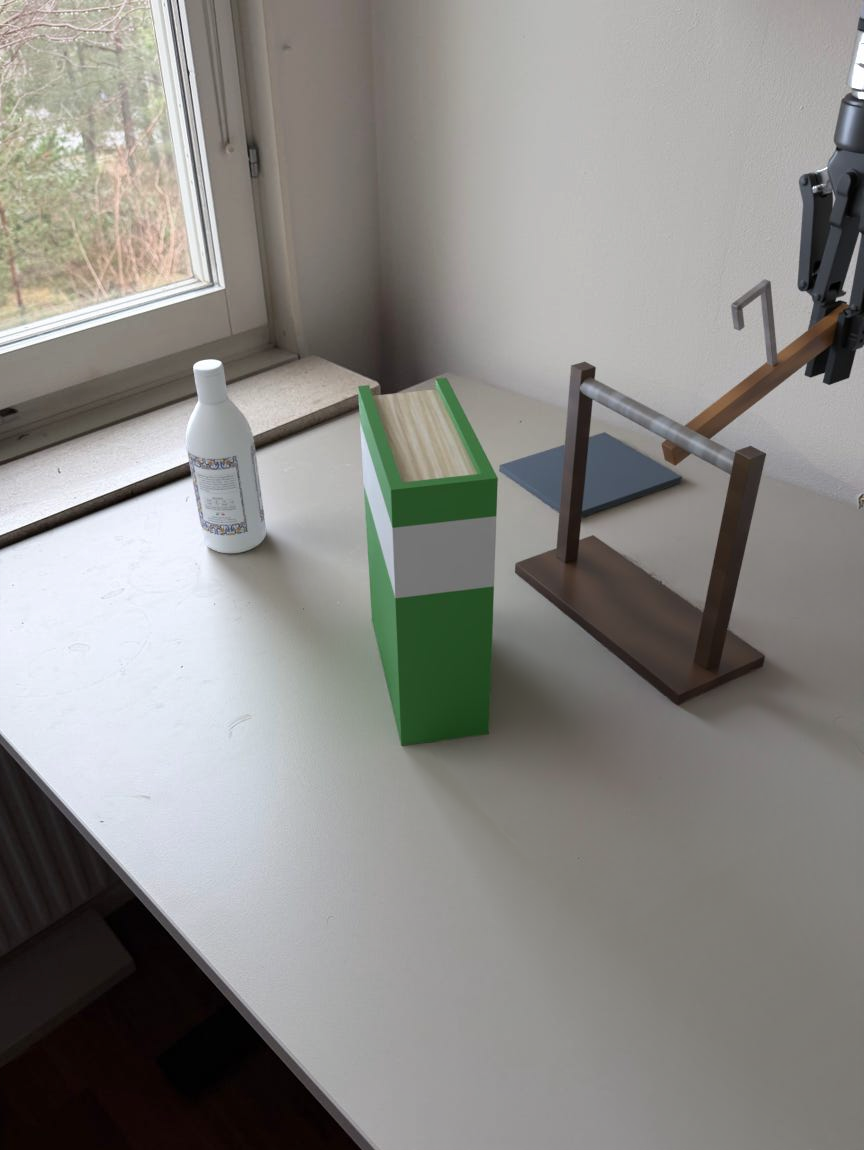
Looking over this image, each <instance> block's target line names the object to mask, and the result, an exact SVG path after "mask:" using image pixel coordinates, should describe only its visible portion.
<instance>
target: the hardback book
mask: <svg viewBox="0 0 864 1150" xmlns="http://www.w3.org/2000/svg"><path fill="white" fill-rule="evenodd" d="M357 395H358V396H357V397H358V398H357V399H358V412H359V413H358V414H359V429H360V430H359V431H360V447H361V463H362V478H363V479H362V481H363V494H364V495H363V496H364V509H365V511H364V512H365V527H366V528H365V530H366V543H367V544H366V545H367V559H368V560H367V561H368V579H369V593H370V594H369V596H370V611H371V612H370V613H371V623H372V628H373V629H374V630H373V631H374V635H375V636H374V637H375V640H376V644H377V648H378V652H379V657H380V660H381V665H382V670H383V673H384V678H385V682H386V686H387V691H388V695H389V699H390V703H391V708H392V713H393V716H394V721H395V724H396V729H397V733H398V737H399V738H398V739H399V741H400V745H401V746H410V745H417V744H424V743H431V742H439V741H446V740H447V741H448V740H454V739H463V738H468V737H476V736H482V735H489V734H490V711H491V683H492V658H493V657H492V654H493V653H492V652H493V626H494V625H493V624H494V602H495V601H494V600H495V599H494V597H495V596H494V595H495V573H496V572H495V571H496V568H495V567H496V544H497V543H496V542H497V541H496V540H497V514H498V511H497V510H498V484H499V482H498V481H499V478H498V476H497V473H496V471H495V469H494V468H493V466H492V464H491V462H490V459H489V458H488V456H487V454H486V452H485V449H484V448H483V446H482V444H481V442H480V440H479V439H478V437H477V435H476V432H475V430H474V428H473V427H472V424H471V422H470V420H469V419H468V417H467V414H466V412H465V411H464V408H463V407H462V405H461V403H460V400H459V399H458V397H457V394H456V393H455V391H454V389H453V387H452V385H451V383H450V382H449V379H448V378H447V377H438V378H435V388H434V389H425V390H415V391H406V392H396V393H395V392H394V393H387V394H386V393H385V394H376V395H373V392H372V390H371V388H370V384H366V385H358V386H357Z"/></svg>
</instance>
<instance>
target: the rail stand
mask: <svg viewBox="0 0 864 1150" xmlns="http://www.w3.org/2000/svg"><path fill="white" fill-rule="evenodd" d="M596 370H597V367H596V366H595V365H592V364H590V363H588V362H587V361H581V362H578V363H575V364H571V365H570V374H569V386H568V399H567V413H566V422H565V423H566V424H565V436H564V445H565V448H564V461H563V473H562V486H561V498H560V511H559V512H558V524H557V537H556V548H553V549H550V550H548V551H547V550H546V551H544V552H542V553H540V554H537V555H533V556H531V557H528V558H526V559H522V560H520V561H517V562H515V564H514V573H515V574H516V575H517V576H518V577H519V578H521V579H522V580H523V581H524V582H525V583H527V584H528V585H529V586H530V587H532V588H533V589H534V590H536V592H537V593H539V594H540V595H542V596H543V597H544V598H545V599H546V600H547V601H549V602H550V603H551V604H552V605H553V606H555V607H556V608H557V609H559V610H560V611H561V612H562V613H564V614H565V615H566V616H567V617H568V618H570V619H571V620H572V621H573V622H574V623H576V624H577V625H578V626H579V627H580V628H582V629H583V630H584V631H586V632H587V633H588V634H589V635H590V636H592V637H593V638H594V639H595V640H597V642H599V643H600V644H601V645H602V646H604V647H605V648H607V649H608V650H609V651H610V652H611V653H612V654H614V655H615V656H616V657H618V658H619V659H620V660H621V661H622V662H624V664H626V665H627V666H628V667H630V668H631V669H632V670H633V671H635V672H636V673H637V674H638V675H640V677H642V678H643V680H645V681H646V682H648V683H649V684H650V685H652V686H653V687H654V688H655V689H656V690H658V691H659V692H660V693H661V694H663V695H664V696H665V697H666V698H667V699H668V700H670V702H672V703H674V704H675V705H676V706H679V705H681V704H683V703H685V702H687V701H689V700H691V699H694V698H696V697H698V696H700V695H703V694H705V693H707V692H710V691H712V690H714V689H716V688H719V687H720V686H722V685H724V684H726V683H729V682H732V681H733V680H735V679H738V678H740V677H742V676H744V675H746V674H749V673H751V672H753V671H755V670H757V669H760V668H761V667H763V666H764V662H765V658H766V655H765V654H763V652H760V651H759V650H757V648H755V647H753V646H752V645H751V644H749V642H746V641H745V640H744V639H742V638H741V637H739V636H738V635H737V634H735V633H734V632H732V631H731V630H729V625H730V620H731V615H732V611H733V607H734V602H735V598H736V592H737V589H738V583H739V579H740V575H741V570H742V565H743V562H744V556H745V553H746V547H747V543H748V538H749V533H750V529H751V525H752V521H753V516H754V512H755V506H756V503H757V497H758V493H759V489H760V484H761V480H762V475H763V471H764V466H765V461H766V457H767V453H766V452H765V451H762V450H760V449H758V448H756V447H754V446H753V445H749V446H745V447H742V448H740V449H737V450H735V451H733V450H732V449H729V448H727V447H726V446H725V445H722V444H720V443H718V442H716V441H714V440H712V439H708V438H706V437H704V436H703V435H701V434H699V433H697V432H695V431H693V430H691V429H689V428H687V427H685V425H683V424H681V423H680V422H677V421H676V420H673V419H672V418H670V417H668V416H666V415H664V414H662V413H660V412H659V411H657V410H655V409H653V408H651V407H649V406H647V405H645V404H644V403H642V402H640V401H637V400H636V399H634V398H631V397H630V396H628V395H626V394H625V393H622V392H620V391H619V390H616V389H615V388H612V387H611V386H608V385H606V384H605V383H603V382H601V381H599V380H597V379H595V378H596V372H597V371H596ZM593 401H594V402H596V403H598V404H600V405H602V406H604V407H606V408H607V409H609V410H611V411H612V412H615V413H617V414H618V415H620V416H621V417H624V418H626V419H627V420H629V421H631V422H633V423H635V424H637V425H639V426H640V427H642V428H644V429H646V430H648V431H649V432H651V433H653V434H655V435H657V436H658V437H660V438H662V439H664V440H668V441H670V442H671V443H673V444H675V445H677V446H679V447H681V448H682V449H684V450H686V451H688V452H690V453H691V455H694V456H695V457H697V458H699V459H701V460H703V461H705V462H706V463H708V464H710V465H712V466H713V467H715V468H718V469H719V470H721V471H723V472H725V473H726V474H728V475H729V481H728V486H727V489H726V490H727V491H726V496H725V500H724V506H723V512H722V516H721V520H720V527H719V531H718V532H719V533H718V536H717V541H716V546H715V551H714V556H713V560H712V561H713V562H712V567H711V572H710V576H709V581H708V587H707V592H706V597H705V601H704V606H703V610H701V609H699V608H698V607H696V606H695V605H694V604H693V603H691V602H689V601H688V600H687V599H685V598H684V597H683V596H681V595H680V594H678V593H676V591H674V590H672V589H671V588H669V586H667V585H666V584H663V582H661V581H660V580H658V579H656V578H655V577H654V576H652V575H651V574H649V572H647V571H645V570H644V569H642V567H639V565H637V564H635V563H634V562H632V560H630V559H628V558H627V557H625V556H624V555H622V554H621V553H619V552H618V551H617V550H615V549H614V548H612V547H611V546H610V545H608V544H607V543H605V542H604V541H602V540H601V539H600V538H598V537H597V536H595V535H594V534H592V535H589V536H586V537H584V538H581V528H582V527H581V526H582V518H583V517H582V507H583V496H584V486H585V476H586V465H587V455H588V444H589V437H590V433H591V423H592V413H593ZM580 538H581V539H580Z"/></svg>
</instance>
